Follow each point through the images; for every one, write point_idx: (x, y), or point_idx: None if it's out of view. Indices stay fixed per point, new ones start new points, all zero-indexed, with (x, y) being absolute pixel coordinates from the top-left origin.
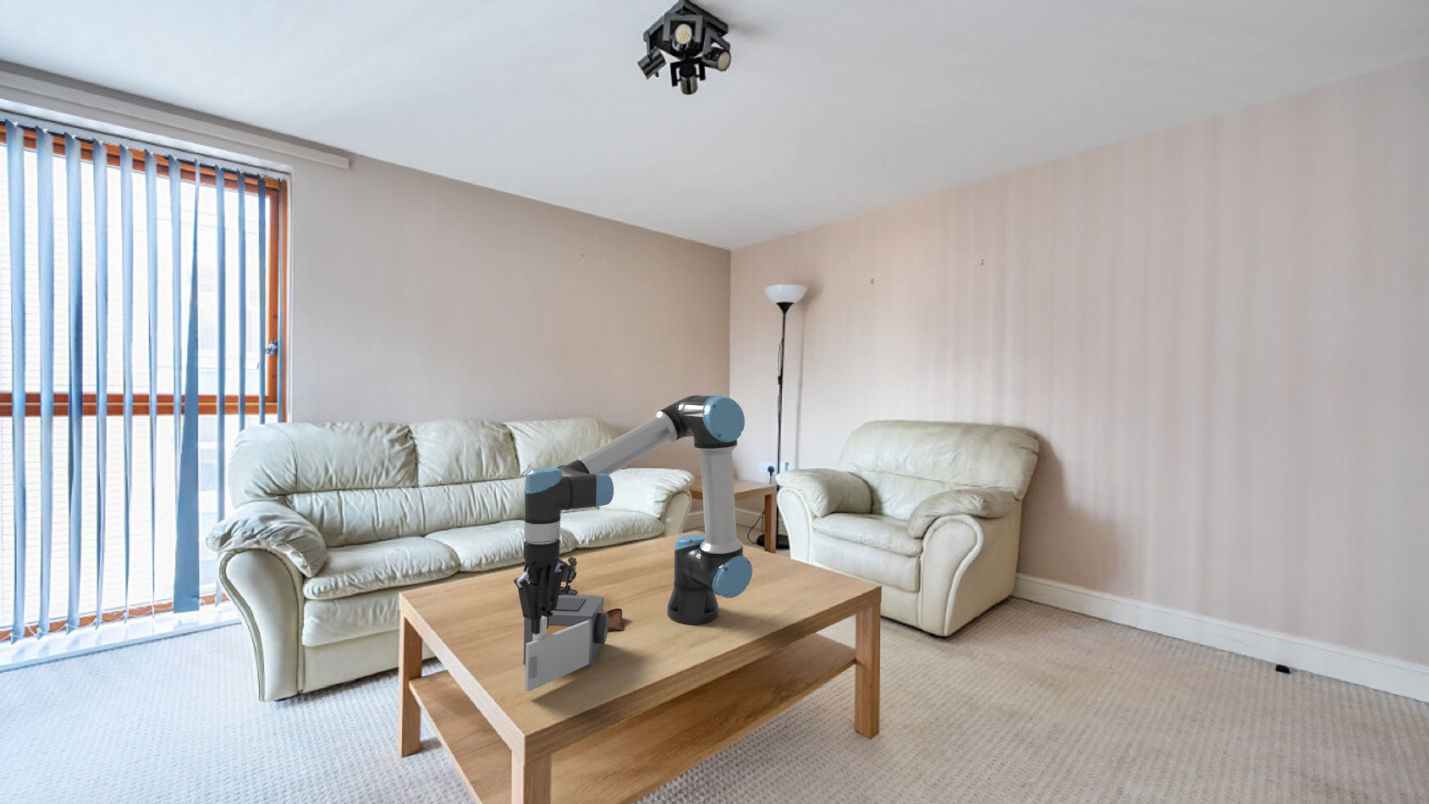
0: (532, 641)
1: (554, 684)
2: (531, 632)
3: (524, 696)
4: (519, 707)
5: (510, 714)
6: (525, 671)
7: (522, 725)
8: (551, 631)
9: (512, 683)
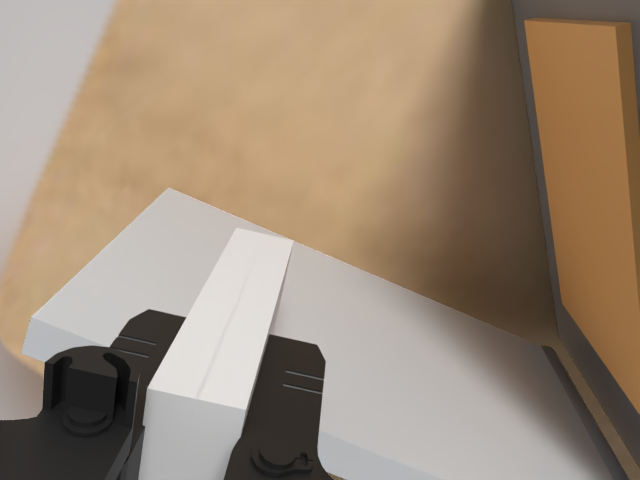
0: (94, 345)
1: (340, 250)
2: (144, 312)
3: (187, 167)
4: (101, 201)
5: (39, 195)
6: (130, 223)
7: (7, 292)
8: (607, 179)
9: (268, 15)
